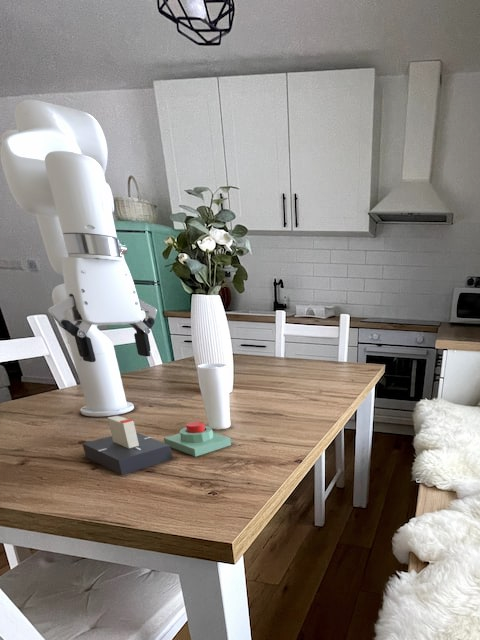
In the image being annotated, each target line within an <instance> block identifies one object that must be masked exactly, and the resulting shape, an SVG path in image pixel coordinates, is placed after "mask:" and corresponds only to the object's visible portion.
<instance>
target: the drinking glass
mask: <svg viewBox="0 0 480 640" xmlns="http://www.w3.org/2000/svg"><path fill="white" fill-rule="evenodd" d="M196 371H197V372H196V373H197V380H198V385H199V390H200V395H201V399H202V403H203V407H204V411H205V417H206V421H207V426H209V427H211V428H212V430H219V431H220V430H225V429H228V428H230V427H231V423H232V422H231V413H230V412H231V410H230V407H231V406H230V381H229V380H230V379H229V371H228V366H227V364H224V363H202V364H198V365H197V366H196Z"/></svg>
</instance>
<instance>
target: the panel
mask: <svg viewBox="0 0 480 640" xmlns="http://www.w3.org/2000/svg"><path fill="white" fill-rule="evenodd" d="M136 435H137V439H138V443H139V446H136V447H132V448H127V447H124V446H122V445H120V444H117V443H115V442H113V439H112V435H111V436H106V437H102V438H98V439H94V440H89V441H86V442H82V443H81V445H82V448H83V451H84V454H85V457H86V458H87V459H89V460H91V461H93V462H95V463H97V464H99V465H101V466H103V467H105V468H107V469H109V470H111V471H113V472H115V473H117V474H119V475H121V476H123V475H126V474H130V473H133V472H136V471H140V470H142V469H145V468H149V467H151V466H154V465H158V464H161V463H164V462H168V461H170V460H171V461H172V460H173V454H172V447H170V445H168V444H166V443H165V442H163V441H160V440H158V439H155V438H153V437H152V436H147V435H144V434H142V433H139V432H138V431H136Z"/></svg>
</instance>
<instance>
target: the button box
mask: <svg viewBox="0 0 480 640" xmlns="http://www.w3.org/2000/svg"><path fill="white" fill-rule="evenodd" d="M204 427H205V431H203V432H200V433H188V432H187V427H186V426H185V427H183V428H181V429H179V433H176V434H173V435H169V436H165V437H163V441H164V442H163V443H166V444H168V445H170V448H171V449H175V450H177V451H180V452H183V453H185V454H188V455H190V456H193V457H196V458H197V457H198V456H199V457H200V456H203V455H205V454H208V453H212V452H214V451H217V450H220V449H224V448H226V447H229V446H231V445H232V439H231V437H229V436H225V435H223V434H220V433H216V432H214V431H213V429H212V428H211V427H209V426H208V425H204Z"/></svg>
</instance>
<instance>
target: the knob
mask: <svg viewBox="0 0 480 640" xmlns="http://www.w3.org/2000/svg"><path fill="white" fill-rule="evenodd" d="M106 419H107V422H108V427H109V430H110V434H111V436H112V439H113V442H115V443H117V444H120V445H122V446H124V447H127V448H132V447H136V446H139V443H138V439H137V435H136V432H137V430H136V426H135V421H133V420H132V419H130V418H126V417H124V416H121V415H112V416H107V418H106Z"/></svg>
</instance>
